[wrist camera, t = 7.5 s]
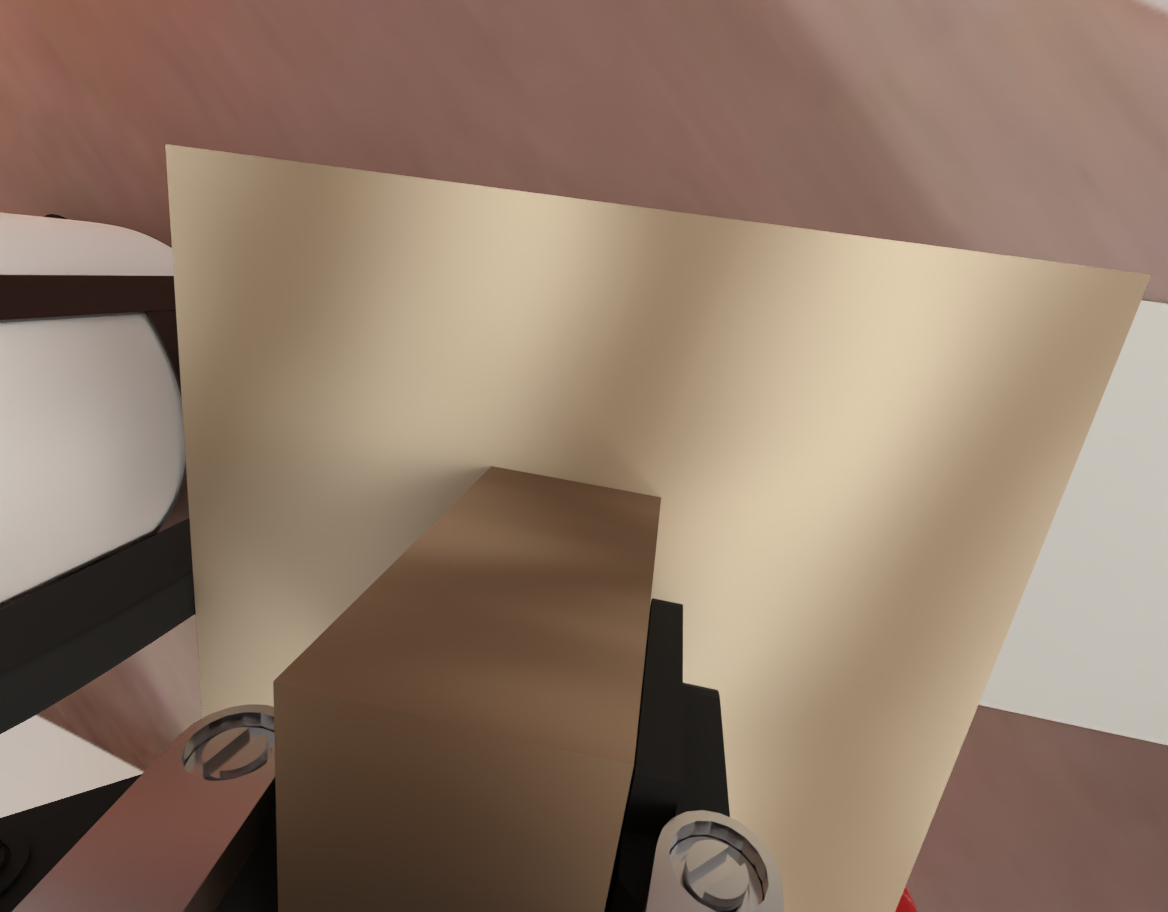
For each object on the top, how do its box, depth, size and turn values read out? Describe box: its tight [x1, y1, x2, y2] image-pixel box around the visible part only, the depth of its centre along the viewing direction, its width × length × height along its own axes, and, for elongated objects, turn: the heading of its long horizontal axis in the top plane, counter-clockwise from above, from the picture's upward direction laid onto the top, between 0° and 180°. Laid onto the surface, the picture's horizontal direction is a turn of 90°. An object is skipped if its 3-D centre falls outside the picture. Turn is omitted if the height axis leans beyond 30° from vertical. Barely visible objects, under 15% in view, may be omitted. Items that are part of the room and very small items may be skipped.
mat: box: [979, 300, 1168, 745], centre depth 22 cm, size 16×16×1 cm
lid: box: [165, 144, 1151, 912], centre depth 9 cm, size 15×15×7 cm
